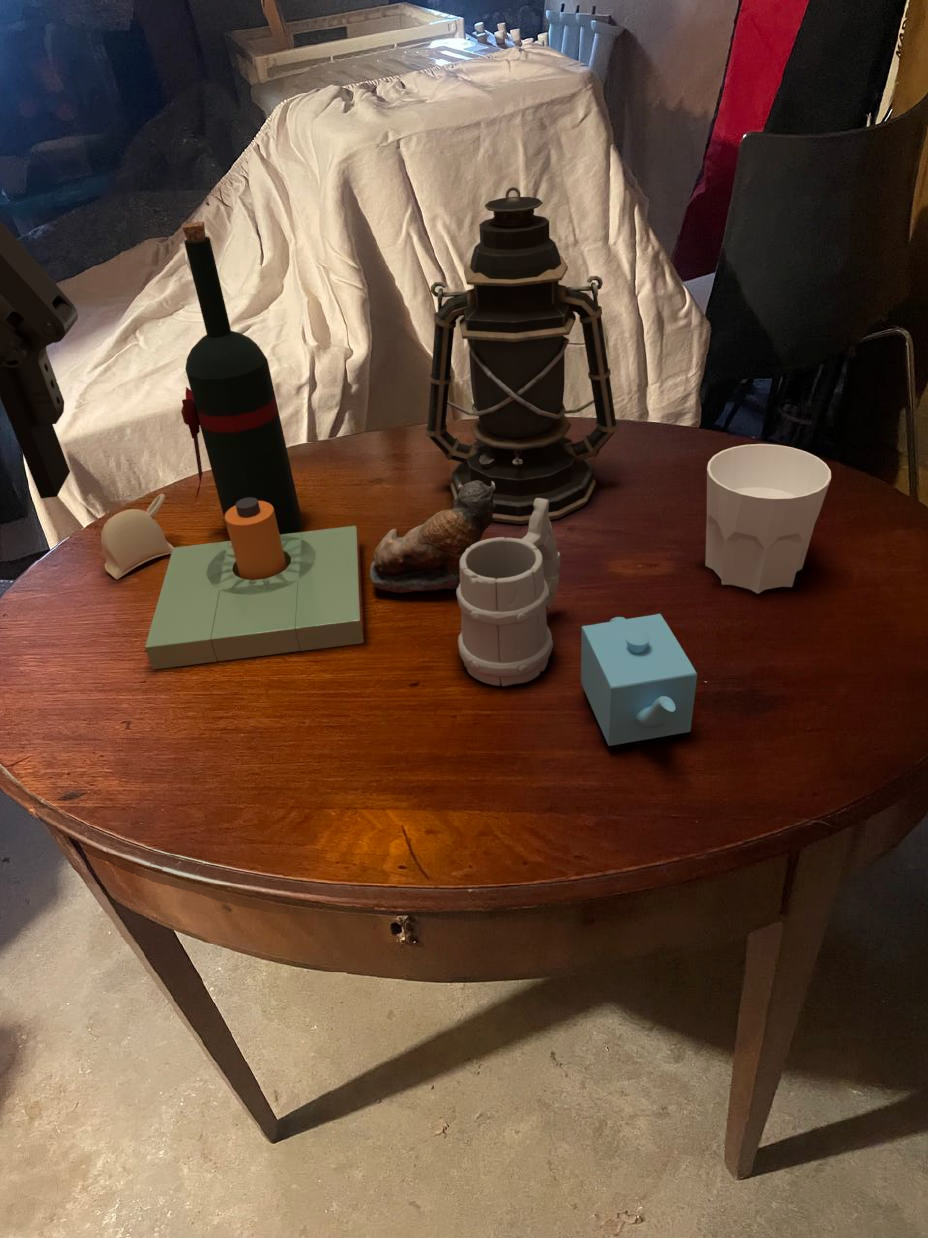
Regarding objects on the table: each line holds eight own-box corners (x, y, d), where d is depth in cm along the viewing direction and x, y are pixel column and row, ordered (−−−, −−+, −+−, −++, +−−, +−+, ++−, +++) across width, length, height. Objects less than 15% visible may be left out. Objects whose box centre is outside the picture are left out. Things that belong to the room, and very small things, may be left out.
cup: (833, 586, 77) (855, 486, 71) (727, 607, 76) (741, 507, 70) (775, 531, 85) (791, 436, 79) (679, 549, 84) (688, 454, 78)
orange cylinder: (241, 601, 82) (219, 517, 76) (245, 575, 85) (224, 493, 80) (289, 595, 82) (269, 511, 77) (290, 570, 85) (272, 488, 80)
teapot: (707, 774, 61) (719, 693, 56) (622, 790, 60) (627, 708, 56) (648, 667, 70) (654, 589, 66) (575, 679, 70) (576, 602, 65)
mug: (440, 669, 72) (427, 544, 65) (518, 597, 79) (514, 478, 72) (519, 701, 68) (514, 573, 61) (593, 622, 75) (596, 499, 68)
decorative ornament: (97, 566, 89) (79, 520, 85) (171, 533, 93) (157, 488, 90) (114, 581, 86) (97, 534, 83) (190, 546, 90) (176, 501, 87)
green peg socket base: (152, 670, 74) (144, 647, 73) (179, 567, 87) (173, 546, 86) (364, 643, 75) (359, 620, 74) (359, 546, 88) (356, 524, 87)
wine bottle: (209, 517, 95) (126, 221, 77) (303, 505, 96) (242, 209, 78) (201, 555, 89) (110, 243, 71) (302, 542, 90) (236, 229, 72)
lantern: (422, 527, 90) (387, 214, 72) (439, 457, 103) (413, 176, 85) (619, 524, 88) (633, 201, 70) (612, 453, 101) (623, 164, 83)
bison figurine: (369, 607, 79) (353, 510, 73) (375, 565, 85) (360, 472, 79) (501, 599, 79) (496, 501, 73) (498, 557, 85) (493, 463, 79)
